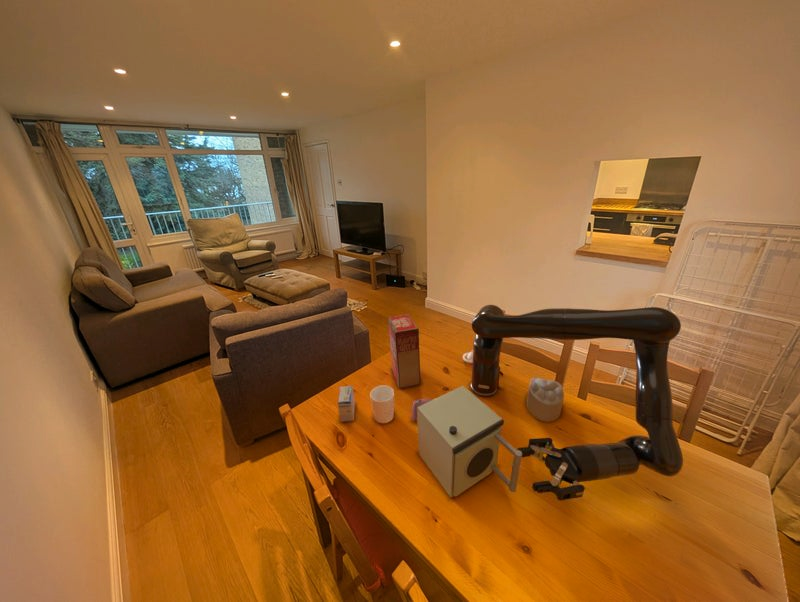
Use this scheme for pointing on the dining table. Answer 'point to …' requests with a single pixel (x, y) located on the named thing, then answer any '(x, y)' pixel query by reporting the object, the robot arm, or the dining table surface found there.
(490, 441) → the washer door
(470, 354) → the ring around a ball
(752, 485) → the dining table surface
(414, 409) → the video game controller
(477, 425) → the washer
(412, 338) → the food packaging
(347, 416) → the medicine box
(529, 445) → the robot arm
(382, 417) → the white cup
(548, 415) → the lumpy-topped squat cylinder
